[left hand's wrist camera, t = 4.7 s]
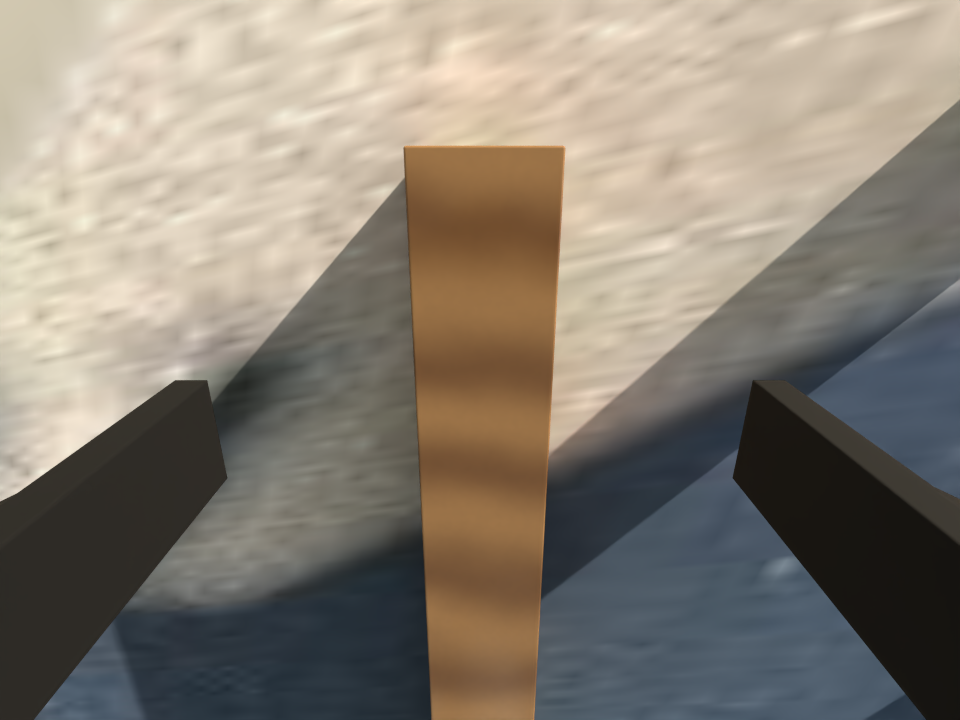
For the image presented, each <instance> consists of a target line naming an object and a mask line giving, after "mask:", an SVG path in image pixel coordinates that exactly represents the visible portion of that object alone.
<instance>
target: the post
mask: <svg viewBox="0 0 960 720" xmlns="http://www.w3.org/2000/svg"><path fill="white" fill-rule="evenodd" d="M564 162H565V146H404V168H405V189H406V209H407V229H408V250H409V270H410V291H411V311H412V332H413V352H414V372H415V393H416V413H417V434H418V454H419V475H420V495H421V515H422V536H423V556H424V577H425V597H426V617H427V638H428V658H429V679H430V699H431V720H534V710H535V692H536V674H537V655H538V637H539V619H540V601H541V582H542V564H543V546H544V527H545V509H546V491H547V473H548V454H549V436H550V418H551V400H552V381H553V363H554V345H555V327H556V308H557V290H558V272H559V254H560V235H561V217H562V199H563V181H564Z"/></svg>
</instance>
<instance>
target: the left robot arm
mask: <svg viewBox="0 0 960 720" xmlns="http://www.w3.org/2000/svg"><path fill="white" fill-rule="evenodd" d="M226 479H227V474H226V469H225V465H224V460H223V455H222V450H221V445H220V440H219V436H218V431H217V426H216V421H215V416H214V411H213V407H212V402H211V397H210V392H209V387H208V382H207V380H175V381H174V382H172V383H171V384H170V385H168V386H167V387H165V388H164V389H163V390H161V391H160V392H158V393H157V394H156V395H154V396H153V397H151V398H150V399H149V400H147V401H146V402H144V403H143V404H142V405H140V406H139V407H137V408H136V409H135V410H133V411H132V412H130V413H129V414H128V415H126V416H125V417H123V418H122V419H121V420H119V421H118V422H116V423H115V424H114V425H112V426H111V427H109V428H108V429H107V430H105V431H104V432H102V433H101V434H100V435H98V436H97V437H95V438H94V439H93V440H91V441H90V442H88V443H87V444H86V445H84V446H83V447H81V448H80V449H79V450H77V451H76V452H74V453H73V454H72V455H70V456H69V457H67V458H66V459H65V460H63V461H62V462H60V463H59V464H58V465H56V466H55V467H53V468H52V469H51V470H49V471H48V472H46V473H45V474H44V475H42V476H41V477H39V478H38V479H37V480H35V481H34V482H32V483H31V484H30V485H28V486H27V487H25V488H24V489H23V490H21V491H20V492H18V493H17V494H15V495H13V496H11V497H9V498H7V499H5V500H3V501H0V720H34V719H35V717H36V716H37V715H38V714H39V712H40V711H41V710H42V709H43V707H44V706H45V705H46V704H47V702H48V701H49V700H50V699H51V697H52V696H53V695H54V694H55V692H56V691H57V690H58V689H59V687H60V686H61V685H62V684H63V682H64V681H65V680H66V679H67V678H68V676H69V675H70V674H71V673H72V671H73V670H74V669H75V668H76V666H77V665H78V664H79V663H80V661H81V660H82V659H83V658H84V656H85V655H86V654H87V653H88V651H89V650H90V649H91V648H92V646H93V645H94V644H95V643H96V641H97V640H98V639H99V638H100V636H101V635H102V634H103V633H104V631H105V630H106V629H107V628H108V626H109V625H110V624H111V623H112V621H113V620H114V619H115V618H116V616H117V615H118V614H119V613H120V611H121V610H122V609H123V608H124V606H125V605H126V604H127V603H128V601H129V600H130V599H131V598H132V596H133V595H134V594H135V593H136V591H137V590H138V589H139V588H140V586H141V585H142V584H143V583H144V581H145V580H146V579H147V578H148V576H149V575H150V574H151V573H152V571H153V570H154V569H155V568H156V566H157V565H158V564H159V563H160V561H161V560H162V559H163V558H164V556H165V555H166V554H167V553H168V551H169V550H170V549H171V548H172V546H173V545H174V544H175V543H176V541H177V540H178V539H179V538H180V536H181V535H182V534H183V533H184V531H185V530H186V529H187V528H188V526H189V525H190V524H191V523H192V521H193V520H194V519H195V518H196V516H197V515H198V514H199V513H200V511H201V510H202V509H203V508H204V506H205V505H206V504H207V503H208V501H209V500H210V499H211V498H212V496H213V495H214V494H215V493H216V491H217V490H218V489H219V488H220V486H221V485H222V484H223V483H224V481H225V480H226ZM733 479H734V480H735V481H736V483H737V484H738V485H739V486H740V488H741V489H742V490H743V491H744V493H745V494H746V495H747V496H748V498H749V499H750V500H751V501H752V503H753V504H754V505H755V506H756V508H757V509H758V510H759V511H760V513H761V514H762V515H763V516H764V518H765V519H766V520H767V521H768V523H769V524H770V525H771V526H772V528H773V529H774V530H775V531H776V533H777V534H778V535H779V536H780V538H781V539H782V540H783V541H784V543H785V544H786V545H787V546H788V548H789V549H790V550H791V551H792V553H793V554H794V555H795V556H796V558H797V559H798V560H799V561H800V563H801V564H802V565H803V566H804V568H805V569H806V570H807V571H808V573H809V574H810V575H811V576H812V578H813V579H814V580H815V581H816V583H817V584H818V585H819V586H820V588H821V589H822V590H823V591H824V593H825V594H826V595H827V596H828V598H829V599H830V600H831V601H832V603H833V604H834V605H835V606H836V608H837V609H838V610H839V611H840V613H841V614H842V615H843V616H844V618H845V619H846V620H847V621H848V623H849V624H850V625H851V626H852V628H853V629H854V630H855V631H856V633H857V634H858V635H859V636H860V638H861V639H862V640H863V641H864V643H865V644H866V645H867V646H868V648H869V649H870V650H871V651H872V653H873V654H874V655H875V656H876V658H877V659H878V660H879V661H880V663H881V664H882V665H883V666H884V668H885V669H886V670H887V671H888V673H889V674H890V675H891V676H892V678H893V679H894V680H895V681H896V682H897V684H898V685H899V686H900V687H901V689H902V690H903V691H904V692H905V694H906V695H907V696H908V697H909V699H910V700H911V701H912V702H913V704H914V705H915V706H916V707H917V709H918V710H919V711H920V712H921V714H922V715H923V716H924V717H925V719H926V720H960V499H958V498H956V497H954V496H952V495H950V494H948V493H946V492H944V491H941V490H939V489H937V488H935V487H933V486H932V485H930V484H929V483H928V482H926V481H925V480H923V479H922V478H921V477H919V476H918V475H916V474H915V473H914V472H912V471H911V470H909V469H908V468H907V467H905V466H904V465H902V464H901V463H900V462H898V461H897V460H895V459H894V458H893V457H891V456H890V455H888V454H887V453H886V452H884V451H883V450H881V449H880V448H879V447H877V446H876V445H874V444H873V443H872V442H870V441H869V440H867V439H866V438H865V437H863V436H862V435H860V434H859V433H858V432H856V431H855V430H853V429H852V428H851V427H849V426H848V425H846V424H845V423H844V422H842V421H841V420H839V419H838V418H837V417H835V416H834V415H832V414H831V413H830V412H828V411H827V410H825V409H824V408H823V407H821V406H820V405H818V404H817V403H816V402H814V401H813V400H811V399H810V398H809V397H807V396H806V395H804V394H803V393H802V392H800V391H799V390H797V389H796V388H795V387H793V386H792V385H790V384H789V383H788V382H786V381H785V380H753V382H752V387H751V392H750V397H749V402H748V407H747V411H746V416H745V421H744V426H743V431H742V436H741V440H740V445H739V450H738V455H737V460H736V465H735V469H734V474H733Z"/></svg>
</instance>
